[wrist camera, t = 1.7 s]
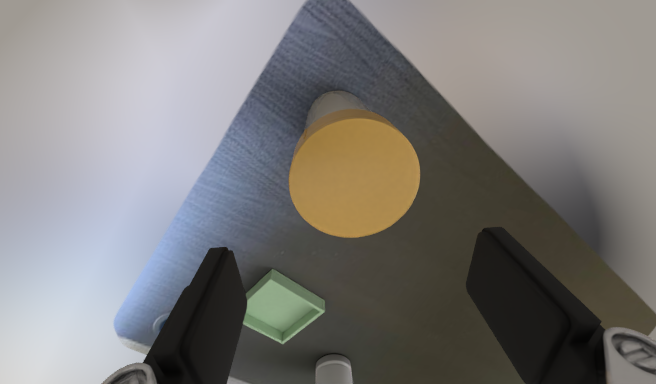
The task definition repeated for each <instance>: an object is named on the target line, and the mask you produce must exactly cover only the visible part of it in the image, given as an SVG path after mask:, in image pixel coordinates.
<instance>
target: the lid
mask: <svg viewBox="0 0 656 384" xmlns="http://www.w3.org/2000/svg"><path fill="white" fill-rule="evenodd" d="M419 182H420V166H419V161H418V157H417V155H416V152H415V150H414V148H413V147H412V145H411V143H410V142H409V141H408V140H407V138H406V137H405V136H404V135H403V134H402V133H401V132H400V131H399V130H398V129H397V128H395V127H394V126H393V125H392V124H391V123H390V122H389V121H388V120H386V119H385V118H383V117H382V116H380V115H378V114H376V113H373V112H370V111H367V110H361V109H344V110H339V111H335V112H332V113H329V114H327V115H325V116H323V117H321V118H319V119H318V120H316V121H315V122H314V123H313V124H311V125H310V126H309V127H308V128H307V129H305V130H304V133H303V134H302V136H301V137H300V139H299V141H298V143H297V145H296V148H295V151H294V155H293V159H292V163H291V167H290V172H289V190H290V195H291V198H292V201H293V203H294V205H295V207H296V209H297V211H298V212H299V213H300V215H301V216H302V217H303V218H304V219H305V220H306V221H307V222H308V223H309V224H311V225H312V226H313V227H315V228H317V229H318V230H320V231H322V232H324V233H327V234H330V235H334V236H339V237H363V236H367V235H371V234H374V233H377V232H379V231H382V230H384V229H386V228H387V227H389V226H391V225H392V224H393V223H395V222H396V221H397V220H398V219H400V218H401V217H402V216H403V215H404V213H405V212H406V211H407V210H408V209H409V207H410V206H411V204H412V202H413V200H414V198H415V196H416V194H417V191H418V187H419Z"/></svg>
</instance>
